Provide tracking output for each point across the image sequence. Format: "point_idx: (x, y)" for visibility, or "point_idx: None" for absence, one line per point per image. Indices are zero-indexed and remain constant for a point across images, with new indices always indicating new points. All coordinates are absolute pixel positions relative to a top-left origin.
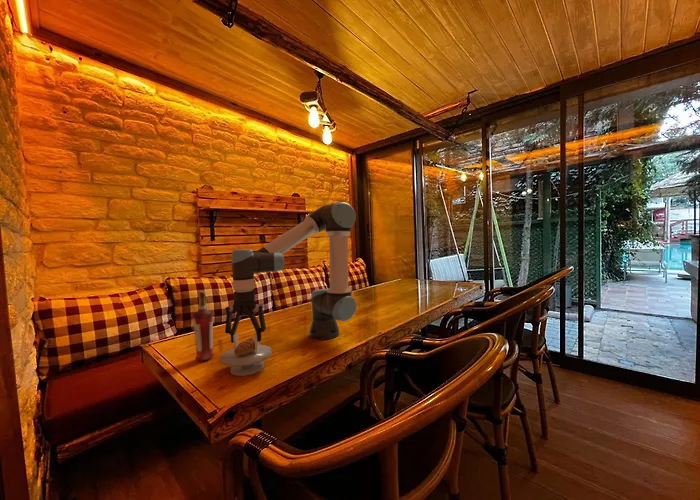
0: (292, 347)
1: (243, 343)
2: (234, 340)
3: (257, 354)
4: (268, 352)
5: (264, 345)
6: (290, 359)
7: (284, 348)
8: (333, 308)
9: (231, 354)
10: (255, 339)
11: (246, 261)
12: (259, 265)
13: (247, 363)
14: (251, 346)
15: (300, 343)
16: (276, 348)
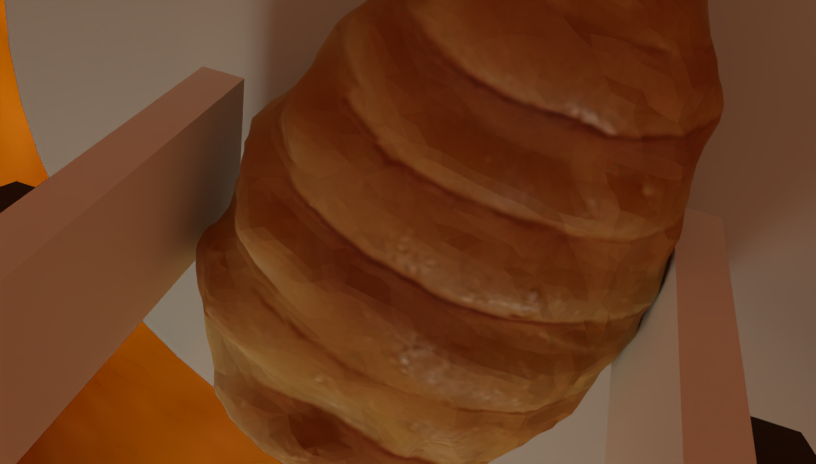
0: (82, 409)
1: (446, 275)
2: (716, 431)
3: (221, 18)
4: (42, 43)
5: (206, 369)
6: (8, 136)
7: (154, 423)
8: None
9: (775, 233)
10: (45, 215)
11: None
12: None
13: None
14: (260, 138)
15: (35, 453)
16: (234, 458)
